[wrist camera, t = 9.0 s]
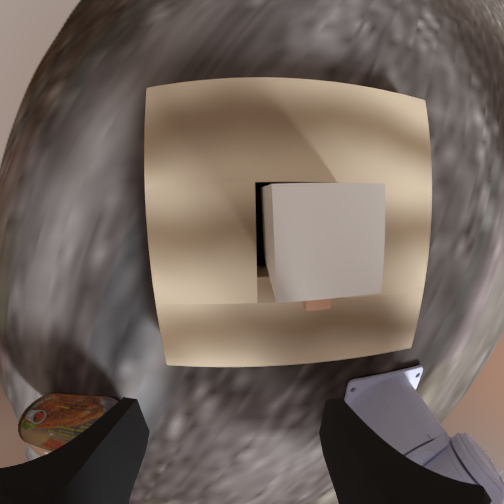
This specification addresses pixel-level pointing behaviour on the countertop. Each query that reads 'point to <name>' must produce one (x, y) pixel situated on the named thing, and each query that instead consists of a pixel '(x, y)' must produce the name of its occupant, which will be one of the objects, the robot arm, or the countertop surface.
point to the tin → (60, 419)
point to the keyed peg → (323, 240)
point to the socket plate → (244, 214)
